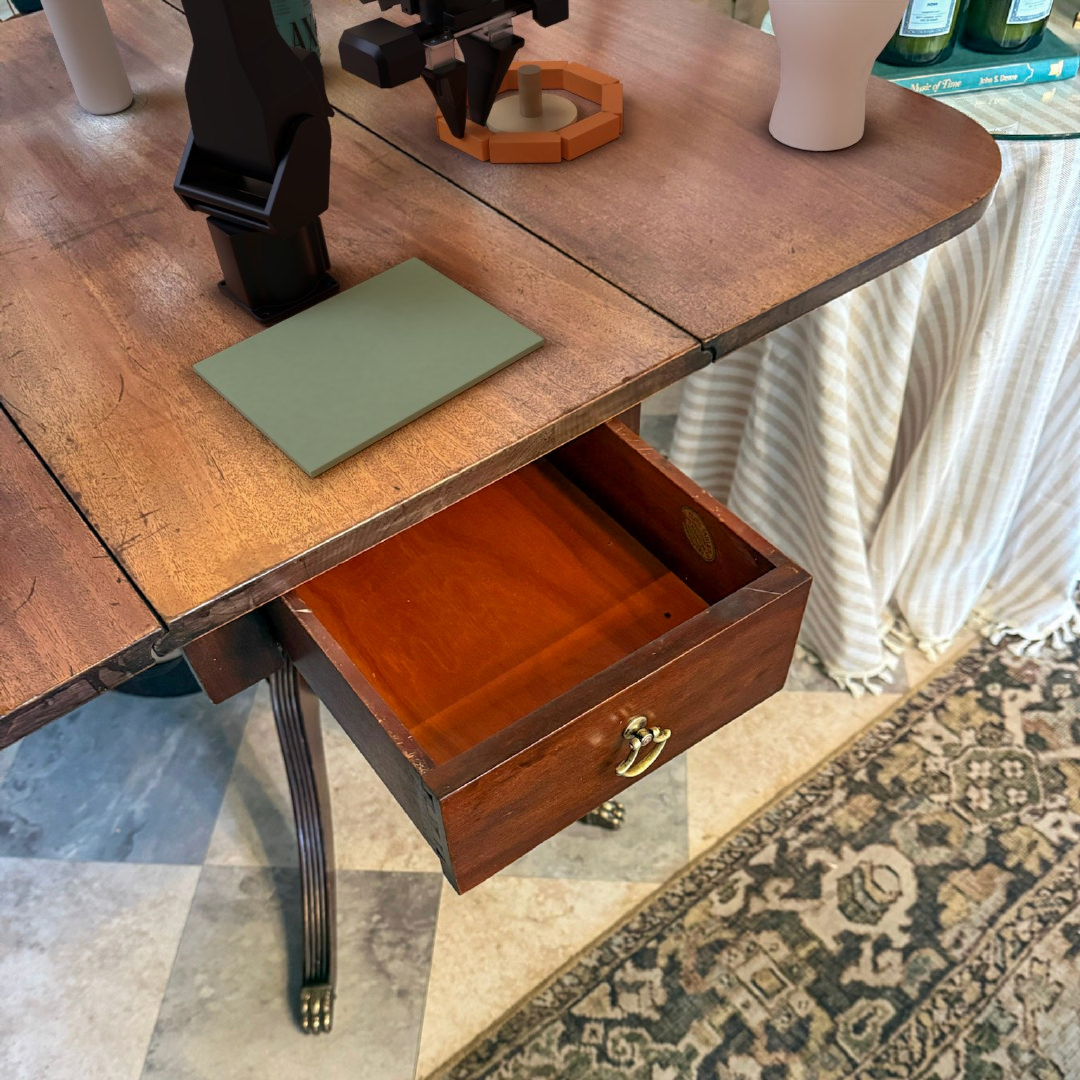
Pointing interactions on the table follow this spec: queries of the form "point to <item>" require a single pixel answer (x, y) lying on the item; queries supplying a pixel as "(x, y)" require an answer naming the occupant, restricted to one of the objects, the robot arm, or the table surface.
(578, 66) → the ring
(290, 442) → the mat
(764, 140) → the table surface
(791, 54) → the pale pink vase
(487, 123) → the stand
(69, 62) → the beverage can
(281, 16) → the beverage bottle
